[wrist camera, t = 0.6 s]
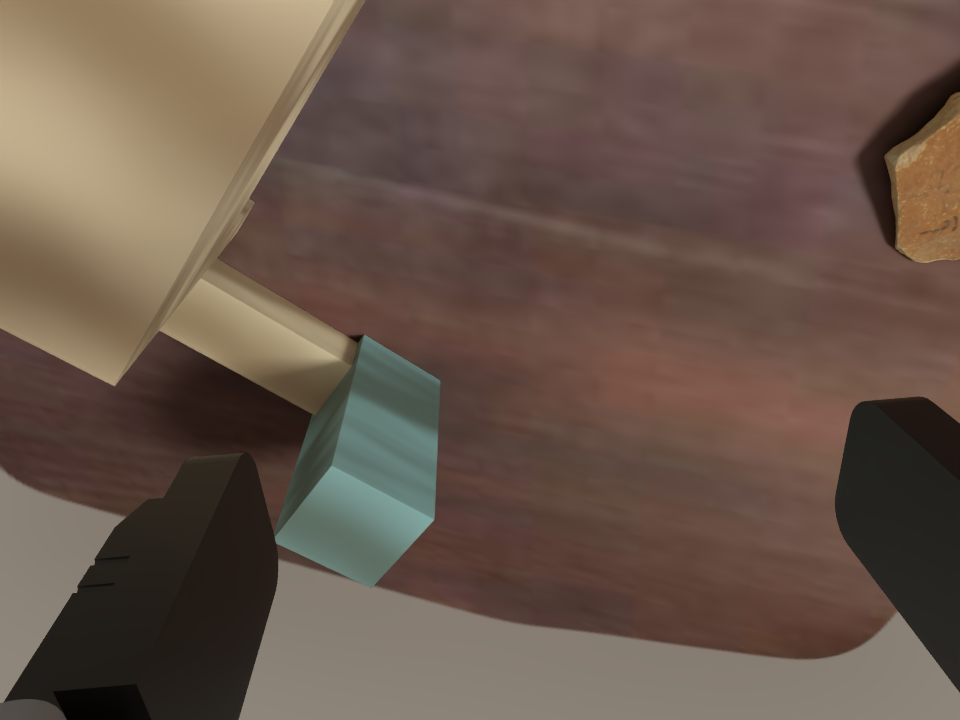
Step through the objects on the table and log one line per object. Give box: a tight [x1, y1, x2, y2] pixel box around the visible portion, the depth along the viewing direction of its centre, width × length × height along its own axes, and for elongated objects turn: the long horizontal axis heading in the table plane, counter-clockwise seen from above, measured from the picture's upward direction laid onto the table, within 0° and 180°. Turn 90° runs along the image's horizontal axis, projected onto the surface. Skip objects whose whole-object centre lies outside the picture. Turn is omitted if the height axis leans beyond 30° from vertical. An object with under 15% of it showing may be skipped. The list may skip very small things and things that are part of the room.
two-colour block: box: [159, 258, 440, 588], centre depth 26 cm, size 4×15×9 cm, turn 54°
